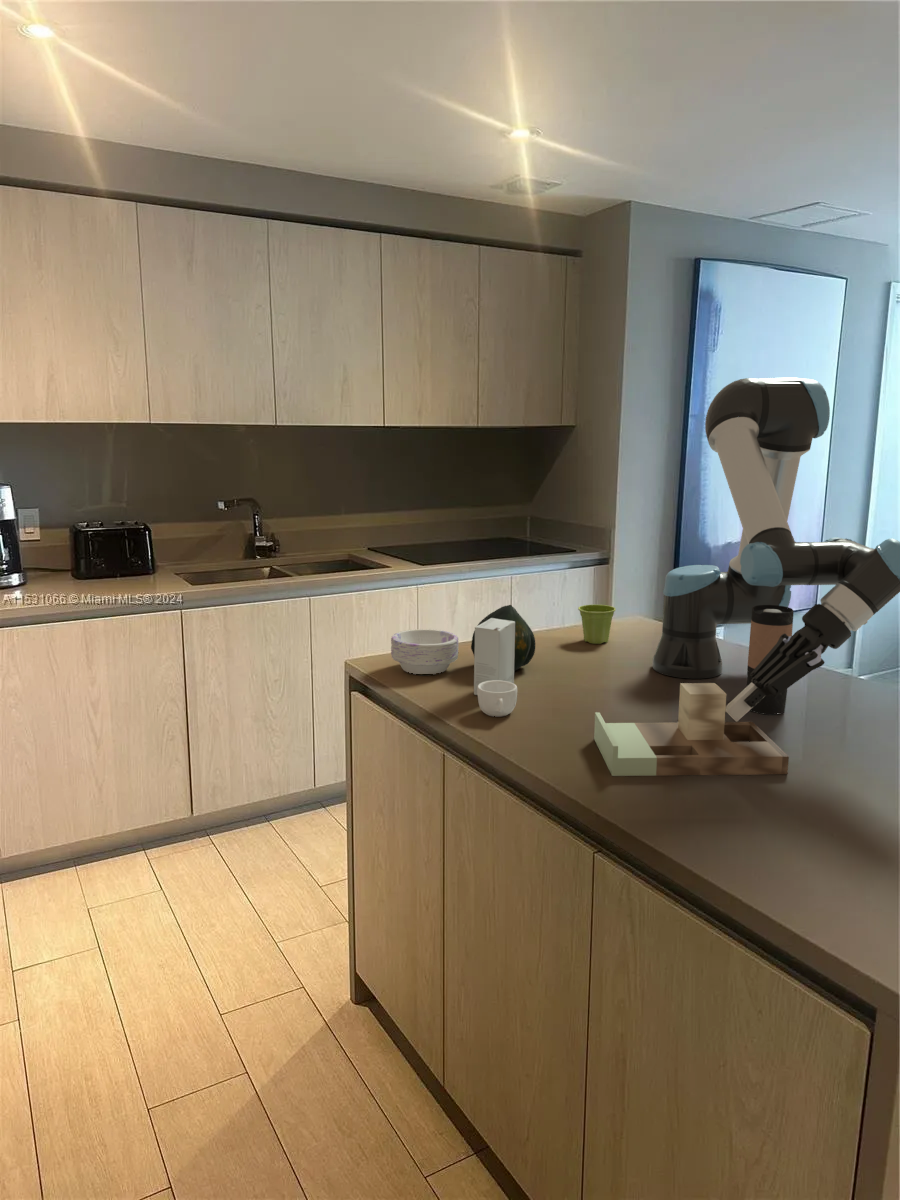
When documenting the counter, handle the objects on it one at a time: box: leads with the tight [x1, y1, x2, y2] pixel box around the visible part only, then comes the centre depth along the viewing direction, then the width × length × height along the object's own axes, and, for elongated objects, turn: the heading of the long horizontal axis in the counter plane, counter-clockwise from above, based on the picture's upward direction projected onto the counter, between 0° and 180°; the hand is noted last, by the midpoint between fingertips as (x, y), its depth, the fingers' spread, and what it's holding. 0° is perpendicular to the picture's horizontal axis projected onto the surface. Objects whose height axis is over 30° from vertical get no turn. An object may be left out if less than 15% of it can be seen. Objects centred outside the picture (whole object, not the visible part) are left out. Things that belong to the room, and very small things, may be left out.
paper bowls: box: [390, 628, 459, 675], centre depth 194 cm, size 15×15×8 cm
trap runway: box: [634, 721, 790, 776], centre depth 144 cm, size 21×16×3 cm
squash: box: [470, 604, 536, 672], centre depth 195 cm, size 14×15×15 cm
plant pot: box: [577, 604, 616, 645], centre depth 218 cm, size 9×9×9 cm
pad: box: [593, 711, 657, 777], centre depth 144 cm, size 7×16×5 cm, turn 1°
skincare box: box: [473, 618, 515, 696], centre depth 177 cm, size 8×6×15 cm
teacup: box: [477, 680, 518, 718], centre depth 164 cm, size 10×8×5 cm
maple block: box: [677, 682, 727, 740], centre depth 145 cm, size 6×6×8 cm
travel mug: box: [746, 605, 794, 715], centre depth 166 cm, size 8×8×20 cm
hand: (729, 715), depth 145 cm, fingers closed
